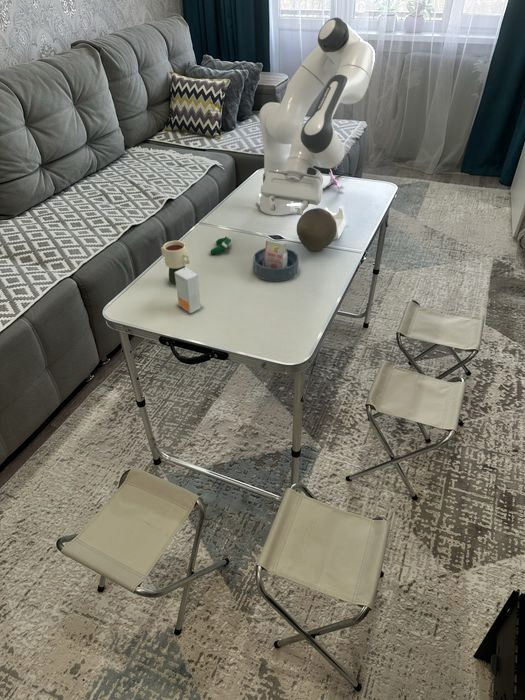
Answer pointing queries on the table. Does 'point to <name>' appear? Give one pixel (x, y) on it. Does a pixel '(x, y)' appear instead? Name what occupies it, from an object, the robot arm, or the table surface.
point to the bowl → (275, 273)
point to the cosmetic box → (187, 290)
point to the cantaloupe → (316, 229)
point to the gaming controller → (221, 245)
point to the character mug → (175, 257)
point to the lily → (333, 181)
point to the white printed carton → (275, 255)
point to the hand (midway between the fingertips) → (285, 212)
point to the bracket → (338, 220)
